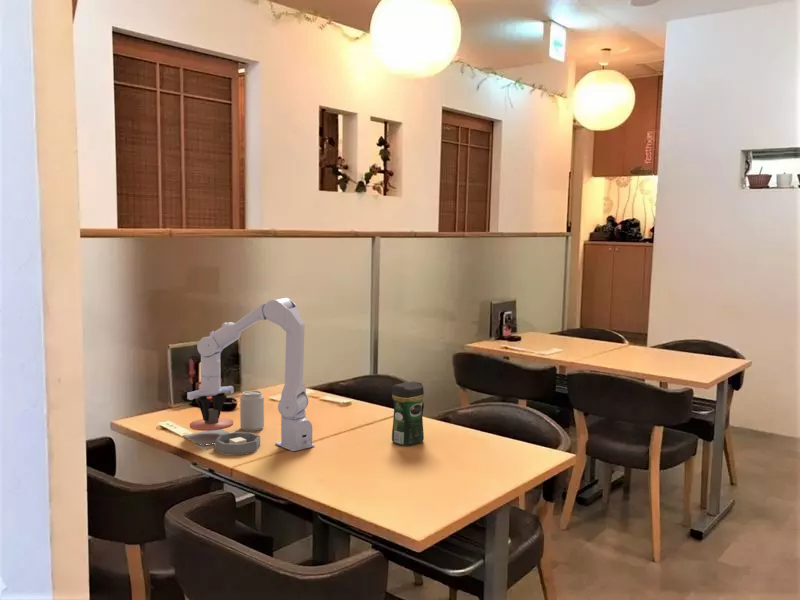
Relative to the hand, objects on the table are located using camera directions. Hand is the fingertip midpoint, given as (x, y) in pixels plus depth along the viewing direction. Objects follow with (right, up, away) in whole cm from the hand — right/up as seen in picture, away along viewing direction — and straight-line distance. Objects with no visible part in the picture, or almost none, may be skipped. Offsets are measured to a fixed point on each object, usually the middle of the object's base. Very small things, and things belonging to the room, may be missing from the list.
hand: (211, 419), depth 213 cm
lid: (0, -2, 0) cm, 2 cm away
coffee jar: (+60, -7, 0) cm, 60 cm away
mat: (0, -6, +1) cm, 6 cm away
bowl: (+10, -7, -9) cm, 15 cm away
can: (+10, -5, +12) cm, 16 cm away
